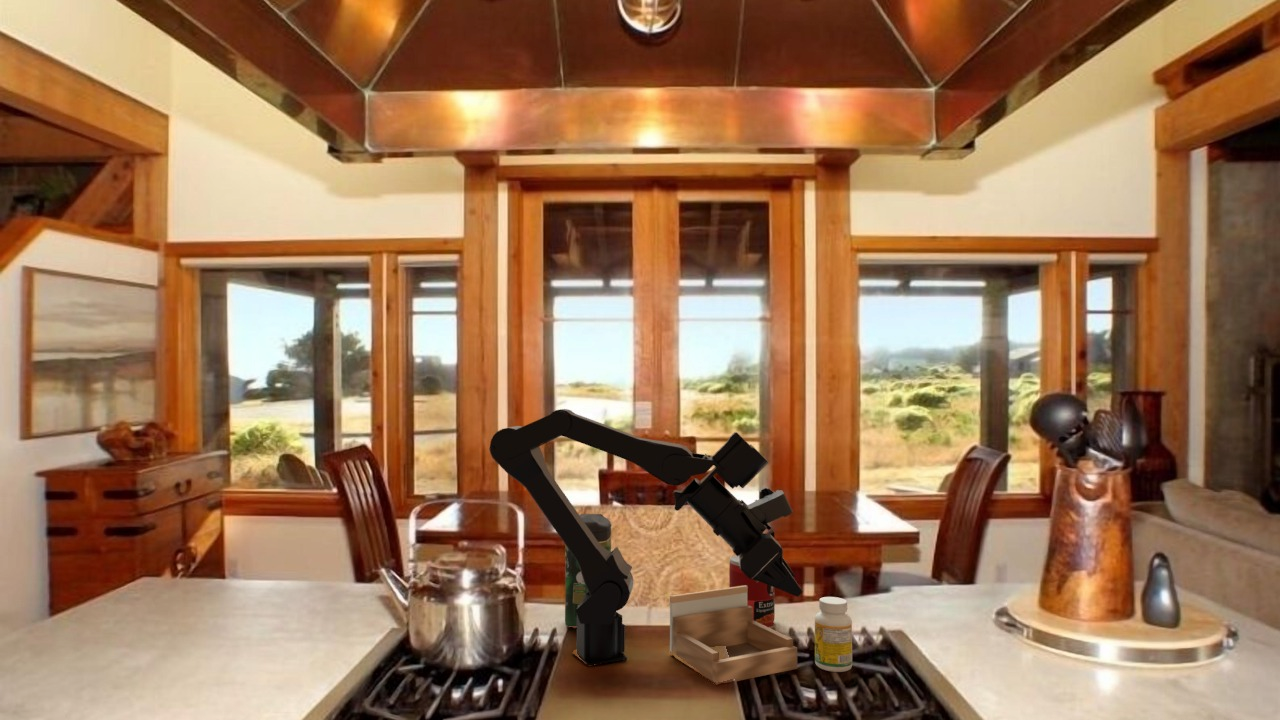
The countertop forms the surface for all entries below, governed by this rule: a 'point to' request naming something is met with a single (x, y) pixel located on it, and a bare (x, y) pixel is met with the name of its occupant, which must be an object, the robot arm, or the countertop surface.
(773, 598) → the canned food
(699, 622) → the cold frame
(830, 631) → the supplement bottle
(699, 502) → the robot arm
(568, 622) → the coffee jar
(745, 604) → the lid panel
